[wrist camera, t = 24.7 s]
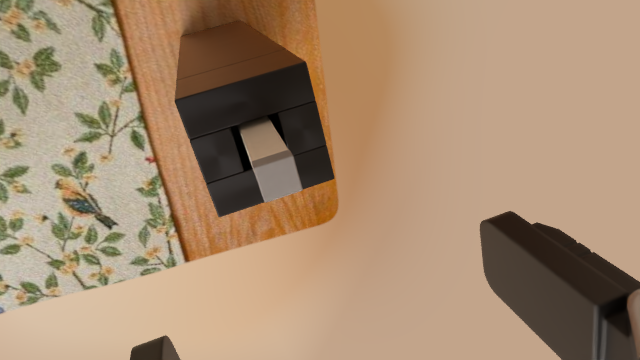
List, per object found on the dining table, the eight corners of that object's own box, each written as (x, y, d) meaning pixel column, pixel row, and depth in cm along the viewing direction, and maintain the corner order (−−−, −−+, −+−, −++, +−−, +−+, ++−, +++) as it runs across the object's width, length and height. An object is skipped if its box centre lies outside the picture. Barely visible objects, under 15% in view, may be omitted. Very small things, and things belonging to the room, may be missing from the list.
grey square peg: (239, 133, 28) (265, 203, 19) (231, 107, 27) (253, 167, 18) (265, 125, 28) (303, 190, 19) (258, 99, 27) (293, 155, 18)
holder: (201, 95, 51) (218, 217, 24) (180, 36, 48) (173, 100, 21) (257, 79, 52) (335, 179, 25) (240, 20, 49) (306, 61, 22)
